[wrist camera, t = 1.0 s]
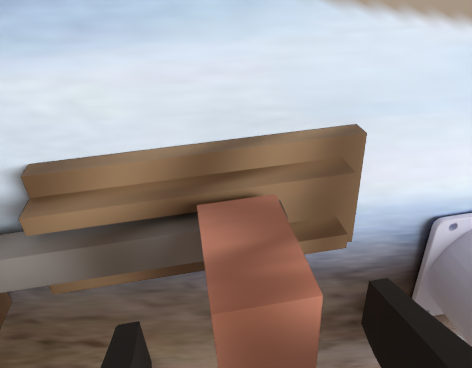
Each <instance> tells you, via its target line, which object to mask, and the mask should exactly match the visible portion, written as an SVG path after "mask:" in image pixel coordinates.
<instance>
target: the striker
mask: <svg viewBox="0 0 472 368" xmlns="http://www.w3.org/2000/svg"><path fill="white" fill-rule="evenodd" d="M197 211H198V212H192V213H185V214H178V215H171V216H164V217H157V218H150V219H143V220H136V221H129V222H122V223H115V224H108V225H101V226H93V227H86V228H79V229H72V230H65V231H58V232H51V233H44V234H37V235H30V236H26V235H25V232H24V231H23V232H16V233H9V234H1V235H0V328H1V326H2V324H3V321H4V319H5V317H6V314H7V312H8V310H9V307H10V305H11V303H12V301H11V299H10V297H9V295H8V293H7V292H10V291H16V290H23V289H29V288H35V287H42V286H48V285H55V284H61V283H67V282H74V281H80V280H87V279H93V278H99V277H106V276H112V275H119V274H125V273H131V272H138V271H144V270H150V269H157V268H163V267H170V266H176V265H182V264H189V263H195V262H202V261H204V264H205V272H206V280H207V287H208V295H209V302H210V310H211V317H212V325H213V332H214V339H215V346H216V354H217V361H218V368H316V363H317V352H318V342H319V332H320V321H321V311H322V301H323V295H322V292H321V290H320V288H319V286H318V284H317V282H316V280H315V277H314V275H313V273H312V271H311V269H310V267H309V264H308V262H307V260H306V258H305V256H304V254H303V252H302V249H301V247H300V245H299V243H298V241H297V239H296V236H295V234H294V232H293V230H292V228H291V226H290V224H289V221H288V216H287V214H286V212H285V210H284V208H283V206H282V203H281V201H280V200H278V198H277V196H276V194H273V195H266V196H259V197H252V198H245V199H238V200H231V201H223V202H216V203H209V204H202V205H197Z"/></svg>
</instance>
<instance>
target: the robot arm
mask: <svg viewBox="0 0 472 368" xmlns="http://www.w3.org/2000/svg"><path fill="white" fill-rule="evenodd" d="M440 314H445V315H446V317H447V318H448V319H449V321H450V322H451V323H452V324H453V326H454V327H455V328H456V330H457V331H458V332H459V333H460V335H461V336H462V337H463V339H464V340H465V341H466V342H467V343H466V342H465V341H464V340H462V339H461V338H460V337H458V336H457V335H456V334H455V333H453V332H452V331H451V330H450V329H448V328H447V327H446V326H444V325H443V324H442V323H441V322H439V321H438V320H437V319H436V318H434V317H433V316H435V315H440ZM361 324H362V326H363V329H364V331H365V334H366V336H367V339H368V341H369V344H370V346H371V348H372V351H373V353H374V355H375V357H376V359H377V361H378V363H379V364H380V366H381V368H472V213H467V214H461V215H454V216H448V217H442V218H439V219H437V220H436V221H435V222H434V223H433V225H432V228H431V232H430V235H429V239H428V242H427V246H426V249H425V253H424V256H423V260H422V264H421V267H420V271H419V274H418V278H417V281H416V285H415V289H414V292H413V296H412V298H410V297H409V296H408V295H407V294H406V293H405V292H403V291H402V290H401V289H400V288H399V287H397V286H396V285H395V284H394V283H393V282H391V281H390V280H389V279H388V278H385V279H379V280H373V281H369V285H368V290H367V295H366V301H365V306H364V311H363V317H362V322H361ZM101 368H152V364H151V359H150V356H149V352H148V349H147V346H146V342H145V339H144V336H143V332H142V329H141V326H140V322H139V321H138V322H132V323H126V324H121V325H118V326H117V327H116V328H115V331H114V334H113V337H112V339H111V342H110V345H109V348H108V350H107V353H106V355H105V358H104V360H103V363H102V365H101Z"/></svg>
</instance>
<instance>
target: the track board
mask: <svg viewBox="0 0 472 368" xmlns="http://www.w3.org/2000/svg"><path fill="white" fill-rule="evenodd" d="M366 136H367V133H366V132H365V131H364V130H363V129H362V128H360V127H359V126H358V125H357V124H354V125H346V126H338V127H329V128H321V129H313V130H305V131H297V132H289V133H280V134H272V135H264V136H256V137H248V138H240V139H231V140H223V141H215V142H207V143H199V144H191V145H182V146H174V147H166V148H158V149H150V150H142V151H133V152H125V153H117V154H109V155H101V156H93V157H84V158H76V159H68V160H60V161H52V162H44V163H35V164H29V165H28V166H27V168H26V169H25V171H24V172H23V174H22V176H21V178H22V181H23V183H24V185H25V188H26V190H27V193H28V195H29V197H30V199H29V201H28V203H27V204H26V206H25V208H24V210H23V212H22V214H21V215H20V217H19V221H20V224H21V226H22V228H23V230H24V232H25V235H26V236H30V235H37V234H44V233H51V232H58V231H65V230H72V229H79V228H86V227H93V226H101V225H108V224H115V223H122V222H129V221H136V220H143V219H150V218H157V217H164V216H171V215H178V214H185V213H192V212H198V211H197V205H202V204H209V203H216V202H223V201H231V200H238V199H245V198H252V197H259V196H266V195H273V194H276V196H277V198H278V200H280V201H281V203H282V206H283V208H284V210H285V212H286V214H287V216H288V221H289V224H290V226H291V228H292V230H293V232H294V234H295V236H296V239H297V241H298V243H299V245H300V247H301V249H302V252H303V254H310V253H317V252H323V251H329V250H335V249H342V248H346V245H347V242H352V236H353V229H354V222H355V214H356V207H357V200H358V193H359V186H360V179H361V172H362V165H363V157H364V150H365V143H366ZM203 270H205V264H204V261H202V262H195V263H189V264H182V265H176V266H170V267H163V268H157V269H150V270H144V271H138V272H131V273H125V274H119V275H112V276H106V277H99V278H93V279H87V280H80V281H74V282H67V283H61V284H55V285H49V287H50V289H51V291H52V294H59V293H65V292H71V291H78V290H84V289H90V288H97V287H103V286H109V285H115V284H122V283H128V282H134V281H141V280H147V279H153V278H159V277H166V276H172V275H178V274H185V273H191V272H197V271H203Z"/></svg>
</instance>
